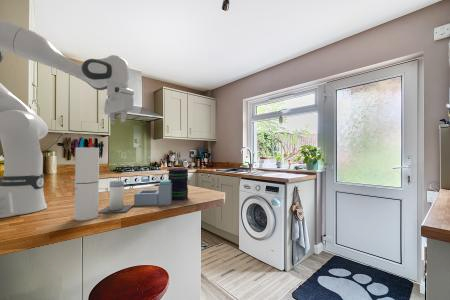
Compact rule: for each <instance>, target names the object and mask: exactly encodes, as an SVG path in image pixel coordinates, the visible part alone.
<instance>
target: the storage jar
mask: <svg viewBox="0 0 450 300" xmlns="http://www.w3.org/2000/svg"><path fill="white" fill-rule="evenodd" d="M168 180H171V183H172V201H173V202H175V201H176V202H178V201H186V200H188V198H189V197H188V195H189V187H188V180H189V169H188V168H169V169H168Z"/></svg>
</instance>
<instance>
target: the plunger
mask: <svg viewBox="0 0 450 300" xmlns="http://www.w3.org/2000/svg"><path fill="white" fill-rule="evenodd" d="M170 183H171V180H169V179H167V180H165V179H163V180H160V181H159V184H162V185H163V184H170Z"/></svg>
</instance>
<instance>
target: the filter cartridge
mask: <svg viewBox="0 0 450 300" xmlns="http://www.w3.org/2000/svg"><path fill="white" fill-rule="evenodd" d="M124 189H125V181H124V180H112V181H111V180H110V181H109V206H110V210H119V209H123V205H124V197H125V196H124V195H125V194H124V193H125V192H124Z"/></svg>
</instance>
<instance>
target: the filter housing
mask: <svg viewBox="0 0 450 300" xmlns="http://www.w3.org/2000/svg"><path fill="white" fill-rule="evenodd" d="M133 195H134V198H133V199H134V200H133V207H134V206H171V204H172V183H170V184H163V185H162V184H160V183H159V184H158V189H140V190H138V191H137V192H136V193H134V194H133Z"/></svg>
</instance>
